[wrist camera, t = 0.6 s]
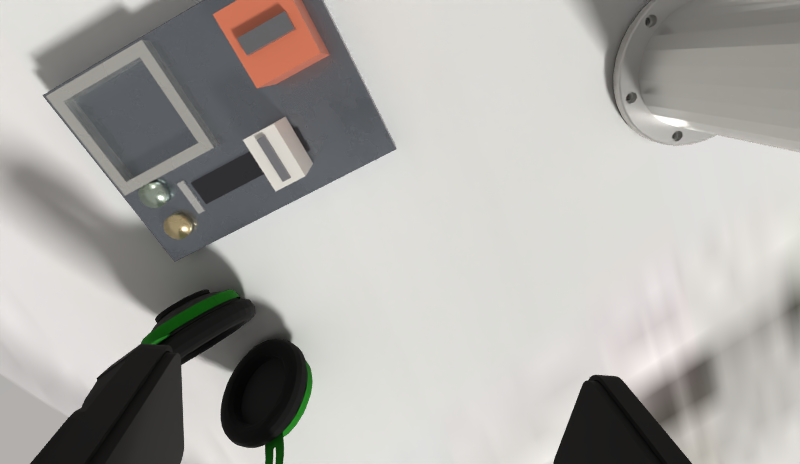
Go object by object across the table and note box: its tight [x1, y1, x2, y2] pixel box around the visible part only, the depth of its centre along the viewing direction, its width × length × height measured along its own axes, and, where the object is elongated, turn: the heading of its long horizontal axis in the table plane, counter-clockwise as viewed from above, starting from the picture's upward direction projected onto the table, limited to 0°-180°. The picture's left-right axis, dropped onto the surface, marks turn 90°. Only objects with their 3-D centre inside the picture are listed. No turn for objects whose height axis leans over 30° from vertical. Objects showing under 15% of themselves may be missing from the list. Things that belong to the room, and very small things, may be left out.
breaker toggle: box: [243, 116, 313, 191], centre depth 30 cm, size 2×4×4 cm, turn 26°
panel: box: [43, 0, 396, 261], centre depth 32 cm, size 21×15×3 cm
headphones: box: [82, 289, 312, 464], centre depth 32 cm, size 9×16×20 cm, turn 36°
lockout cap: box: [213, 0, 330, 88], centre depth 27 cm, size 4×4×6 cm
